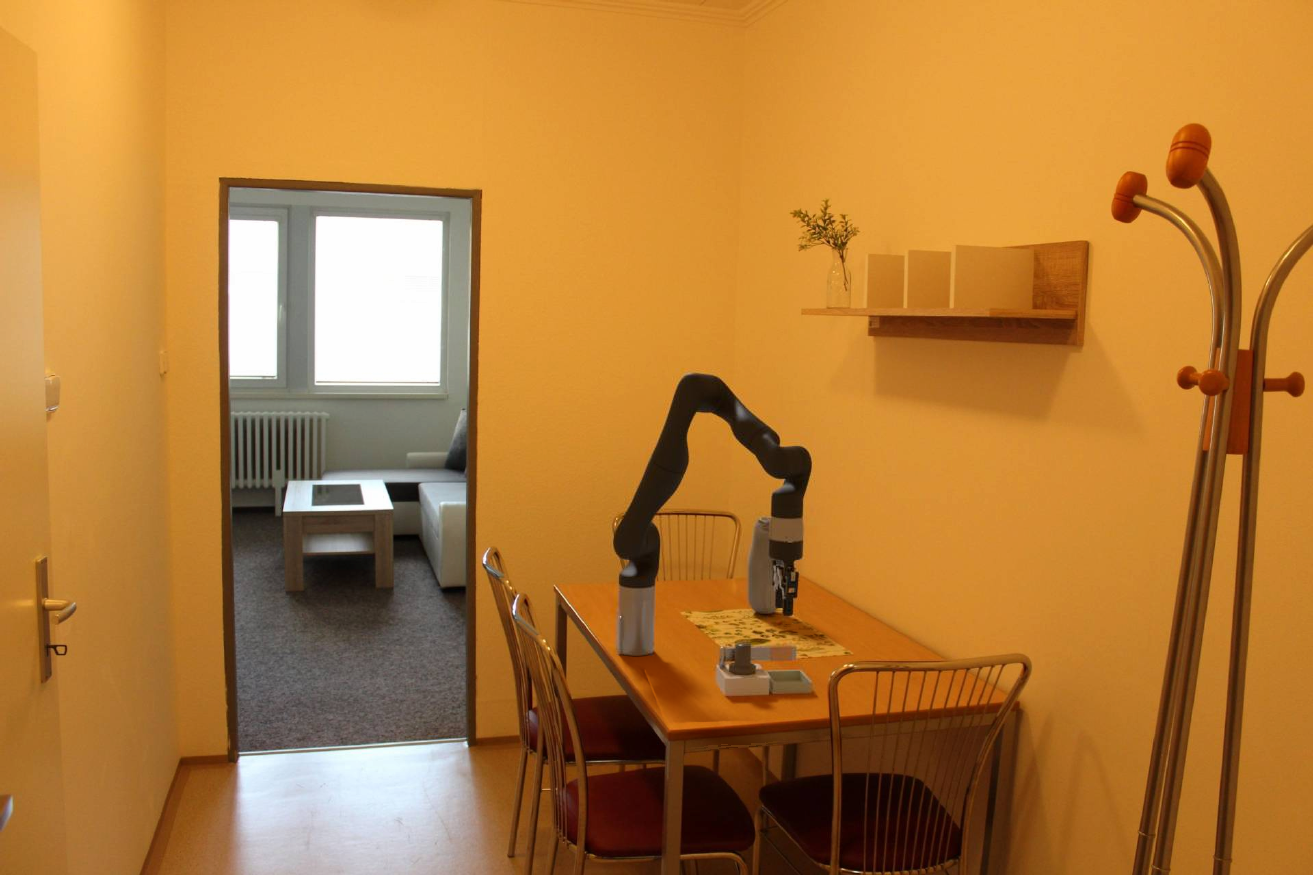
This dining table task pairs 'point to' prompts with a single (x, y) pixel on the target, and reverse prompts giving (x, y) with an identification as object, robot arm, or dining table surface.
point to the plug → (742, 660)
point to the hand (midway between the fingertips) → (783, 611)
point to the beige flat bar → (760, 653)
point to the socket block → (742, 682)
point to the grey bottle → (760, 570)
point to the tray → (789, 682)
